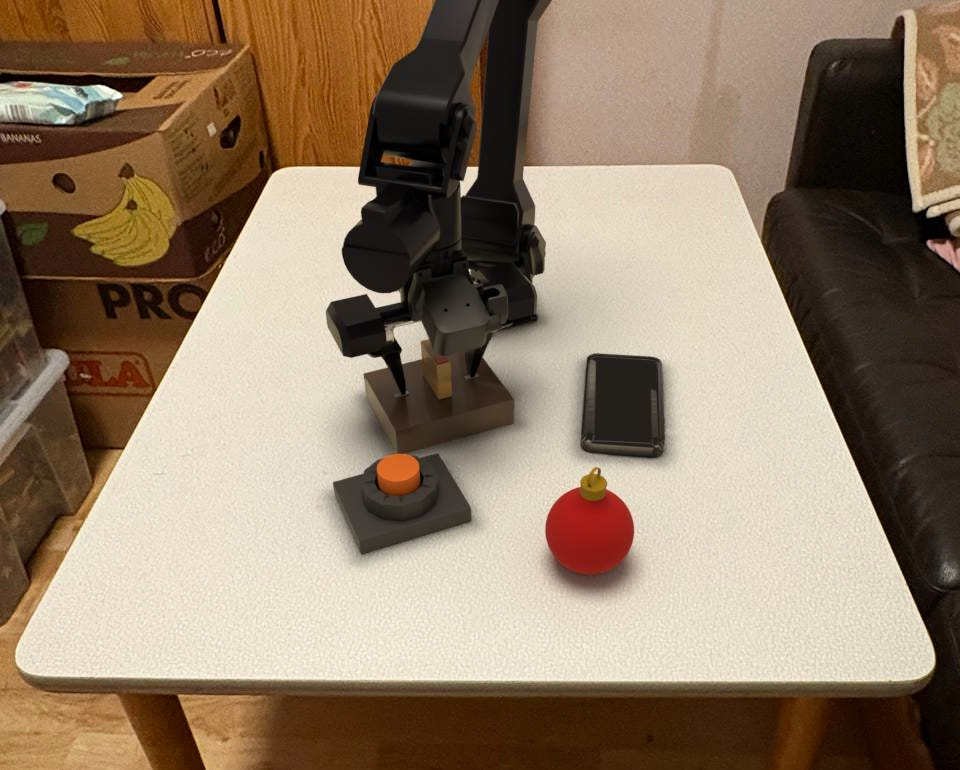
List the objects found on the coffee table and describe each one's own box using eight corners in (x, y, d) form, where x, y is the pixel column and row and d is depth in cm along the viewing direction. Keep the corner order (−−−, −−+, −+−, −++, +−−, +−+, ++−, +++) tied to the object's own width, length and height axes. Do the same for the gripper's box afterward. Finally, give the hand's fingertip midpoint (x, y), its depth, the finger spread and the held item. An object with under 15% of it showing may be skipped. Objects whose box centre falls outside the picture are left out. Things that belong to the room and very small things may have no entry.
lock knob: (422, 375, 90) (420, 338, 87) (435, 371, 91) (433, 335, 88) (438, 400, 87) (436, 363, 84) (452, 396, 87) (450, 359, 85)
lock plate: (475, 369, 96) (474, 344, 94) (514, 423, 89) (514, 397, 87) (366, 397, 93) (362, 372, 90) (397, 455, 86) (395, 429, 84)
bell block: (439, 466, 84) (437, 437, 82) (471, 521, 79) (470, 492, 77) (334, 495, 82) (329, 466, 79) (361, 555, 76) (356, 525, 74)
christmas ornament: (576, 518, 79) (583, 428, 72) (646, 555, 76) (660, 464, 69) (526, 565, 75) (529, 474, 68) (598, 606, 72) (608, 515, 65)
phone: (580, 442, 85) (587, 352, 96) (579, 452, 86) (586, 361, 97) (666, 448, 84) (663, 356, 95) (664, 458, 85) (661, 365, 96)
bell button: (412, 464, 80) (410, 449, 79) (426, 489, 77) (425, 474, 76) (373, 475, 79) (371, 459, 78) (386, 501, 76) (384, 485, 75)
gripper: (351, 303, 70) (370, 458, 80) (568, 255, 75) (559, 406, 86) (313, 241, 78) (335, 389, 88) (513, 201, 83) (511, 346, 93)
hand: (437, 383), depth 89 cm, fingers open, 7 cm apart
